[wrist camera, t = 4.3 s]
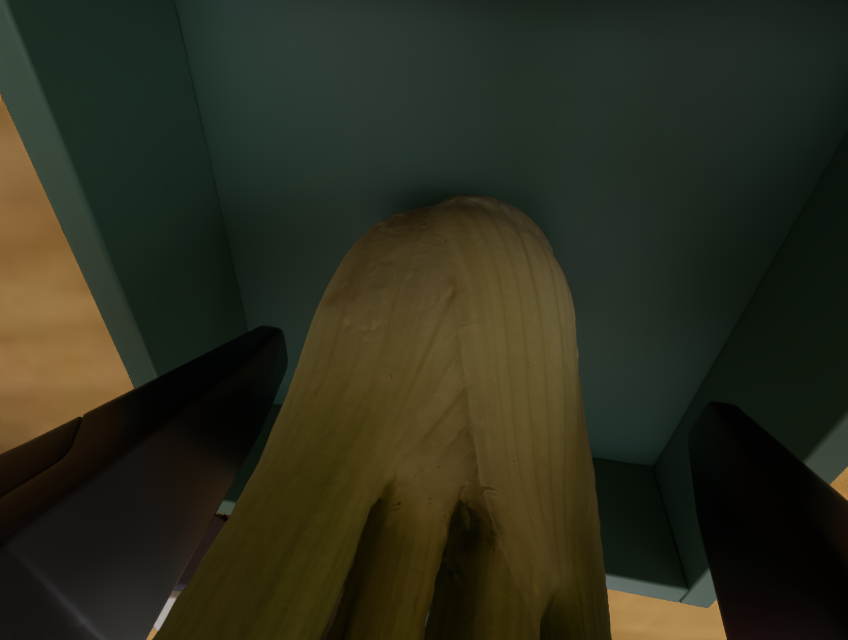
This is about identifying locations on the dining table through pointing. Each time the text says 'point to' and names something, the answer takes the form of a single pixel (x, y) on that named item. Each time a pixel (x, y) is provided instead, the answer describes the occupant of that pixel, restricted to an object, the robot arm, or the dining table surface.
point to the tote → (482, 175)
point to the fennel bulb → (421, 454)
